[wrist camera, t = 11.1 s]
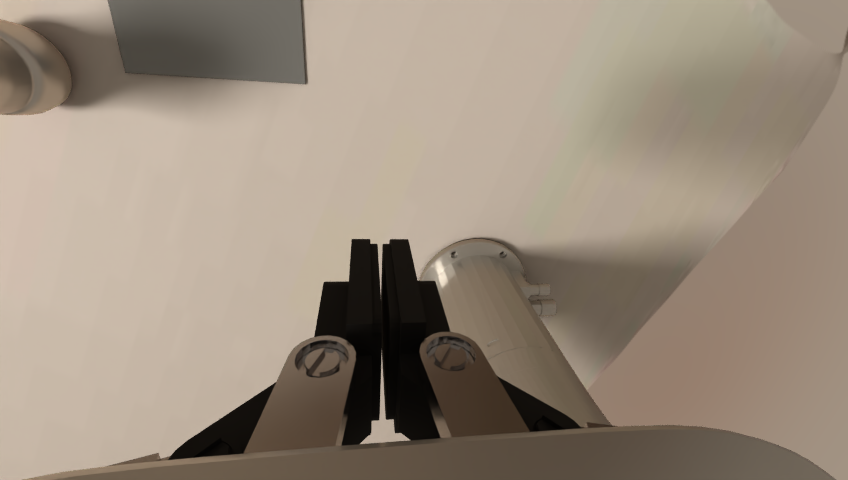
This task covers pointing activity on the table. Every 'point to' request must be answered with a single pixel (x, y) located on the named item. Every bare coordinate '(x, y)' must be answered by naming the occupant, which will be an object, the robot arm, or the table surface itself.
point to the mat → (212, 38)
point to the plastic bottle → (30, 72)
